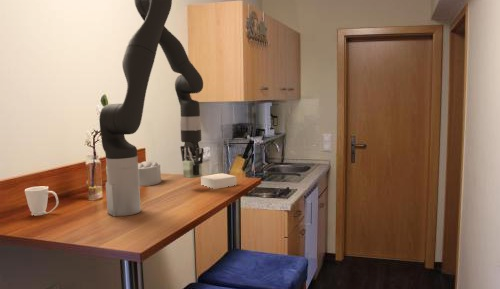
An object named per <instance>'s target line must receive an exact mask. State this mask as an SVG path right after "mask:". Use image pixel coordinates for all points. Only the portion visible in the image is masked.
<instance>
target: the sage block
mask: <svg viewBox="0 0 500 289" xmlns="http://www.w3.org/2000/svg"><path fill="white" fill-rule="evenodd" d="M182 169H183V173H182V174H183V178H187V179H194V178H195V179H196V178H201V177H202V176H203V173H202V172H203V171H202V170H203V169H202V164H200V165H199V175H196V176H195V175H193V163H192V160H187V161H182Z"/></svg>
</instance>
